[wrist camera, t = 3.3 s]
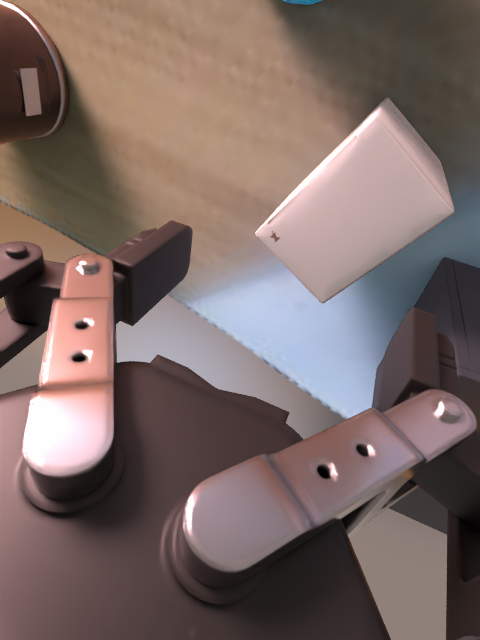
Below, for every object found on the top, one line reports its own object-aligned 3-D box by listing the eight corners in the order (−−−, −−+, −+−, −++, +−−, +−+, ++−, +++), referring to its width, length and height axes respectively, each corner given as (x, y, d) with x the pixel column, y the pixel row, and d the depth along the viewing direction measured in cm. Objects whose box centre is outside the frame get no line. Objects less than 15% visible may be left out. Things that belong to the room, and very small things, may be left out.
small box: (346, 238, 29) (319, 308, 21) (297, 184, 28) (250, 236, 20) (444, 161, 24) (459, 215, 16) (389, 93, 23) (375, 113, 15)
